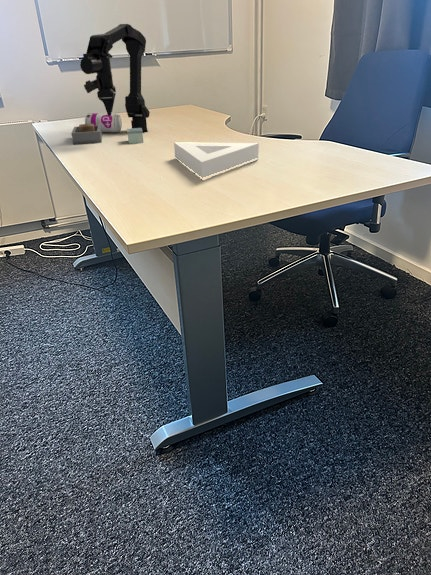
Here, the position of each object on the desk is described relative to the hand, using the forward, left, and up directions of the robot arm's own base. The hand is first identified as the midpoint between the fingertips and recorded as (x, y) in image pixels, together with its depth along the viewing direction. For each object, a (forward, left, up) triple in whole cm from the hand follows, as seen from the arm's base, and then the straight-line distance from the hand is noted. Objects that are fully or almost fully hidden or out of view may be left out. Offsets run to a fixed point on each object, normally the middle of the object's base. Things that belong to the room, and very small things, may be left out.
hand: (110, 113), depth 178 cm
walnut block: (+11, -5, -10) cm, 16 cm away
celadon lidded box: (-9, +5, -11) cm, 15 cm away
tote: (+11, -5, -11) cm, 16 cm away
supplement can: (+11, -23, -7) cm, 27 cm away
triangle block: (-37, +50, -12) cm, 64 cm away
